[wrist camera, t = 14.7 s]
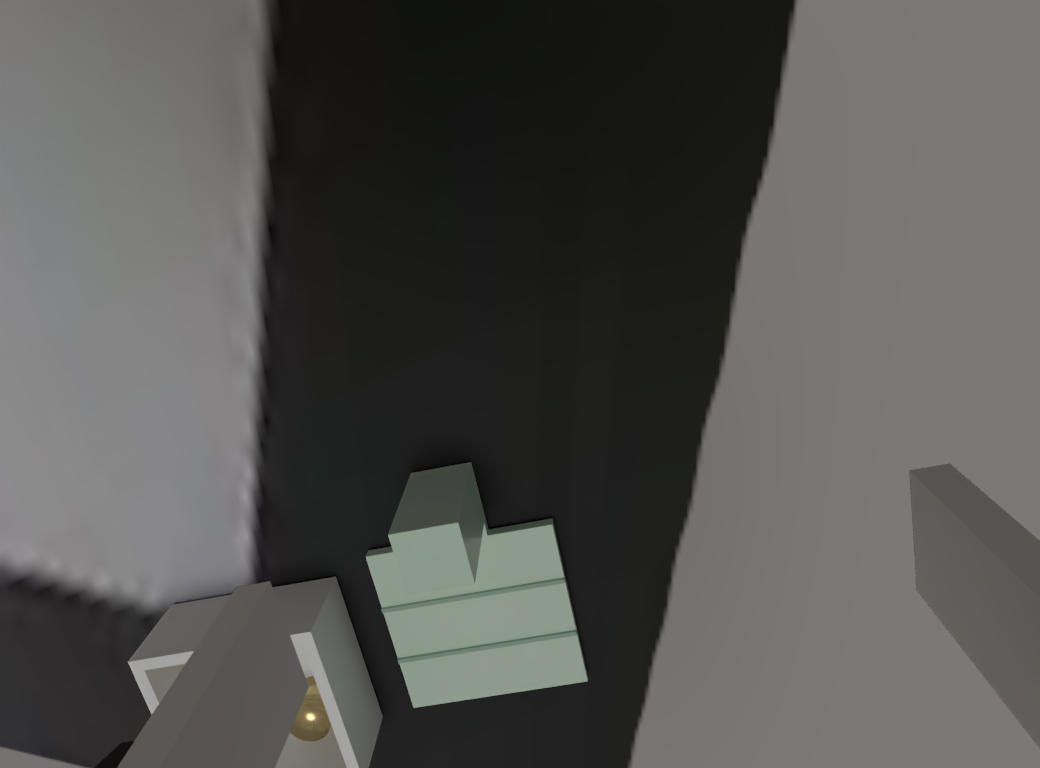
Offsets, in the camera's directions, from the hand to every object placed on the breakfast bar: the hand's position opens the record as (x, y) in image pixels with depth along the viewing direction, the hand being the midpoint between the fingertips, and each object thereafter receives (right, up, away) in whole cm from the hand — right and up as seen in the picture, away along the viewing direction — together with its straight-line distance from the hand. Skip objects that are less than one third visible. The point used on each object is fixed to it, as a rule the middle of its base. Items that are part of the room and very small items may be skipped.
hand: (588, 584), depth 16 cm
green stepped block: (-5, -9, +37) cm, 39 cm away
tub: (-19, -16, +40) cm, 46 cm away
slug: (-16, -18, +39) cm, 46 cm away
